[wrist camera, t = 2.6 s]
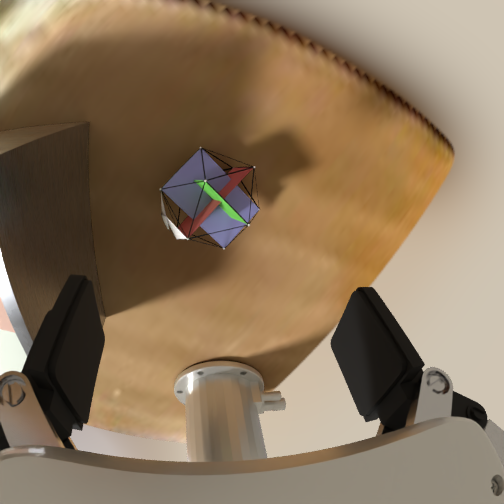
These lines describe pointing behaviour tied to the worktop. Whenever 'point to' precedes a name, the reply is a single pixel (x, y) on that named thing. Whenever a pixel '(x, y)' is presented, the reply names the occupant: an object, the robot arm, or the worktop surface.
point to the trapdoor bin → (43, 221)
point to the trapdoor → (9, 345)
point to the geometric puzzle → (209, 199)
